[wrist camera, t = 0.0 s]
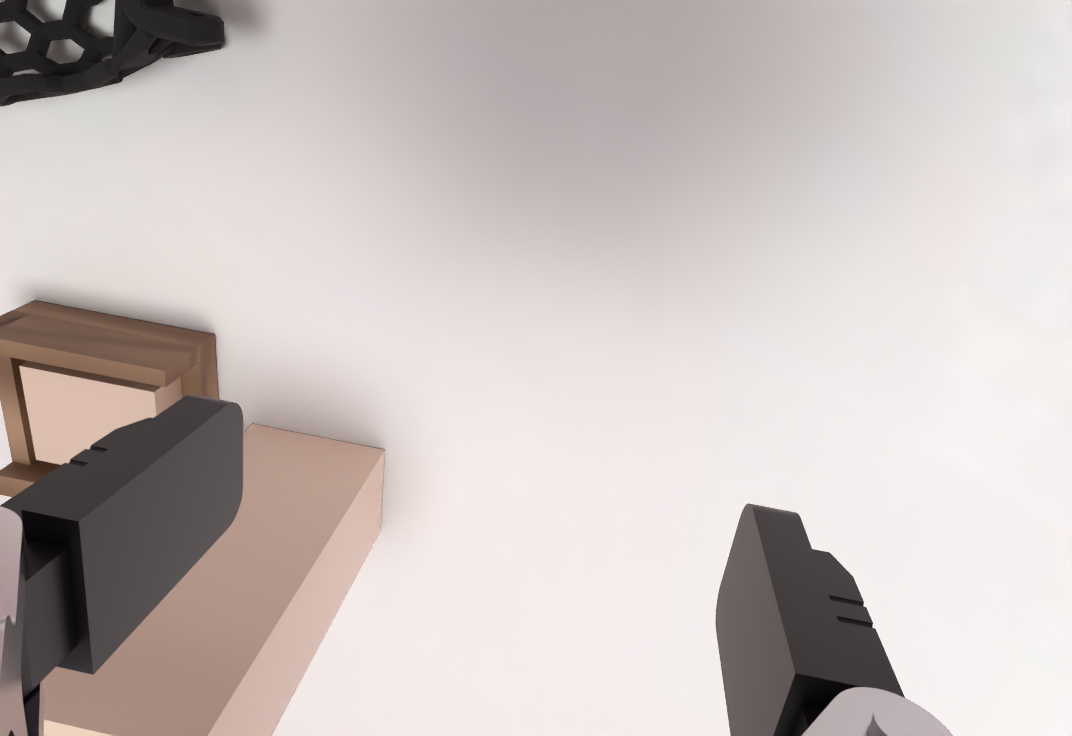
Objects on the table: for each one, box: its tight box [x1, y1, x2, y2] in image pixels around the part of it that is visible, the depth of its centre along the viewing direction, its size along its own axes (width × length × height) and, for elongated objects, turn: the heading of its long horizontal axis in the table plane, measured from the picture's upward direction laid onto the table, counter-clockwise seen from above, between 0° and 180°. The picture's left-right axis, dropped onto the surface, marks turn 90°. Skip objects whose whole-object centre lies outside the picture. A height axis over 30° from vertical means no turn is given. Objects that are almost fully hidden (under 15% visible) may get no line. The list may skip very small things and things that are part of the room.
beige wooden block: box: [42, 424, 385, 736], centre depth 27 cm, size 4×6×15 cm
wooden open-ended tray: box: [0, 300, 218, 497], centre depth 33 cm, size 15×8×4 cm, turn 172°
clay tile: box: [19, 361, 182, 465], centre depth 31 cm, size 4×6×2 cm
